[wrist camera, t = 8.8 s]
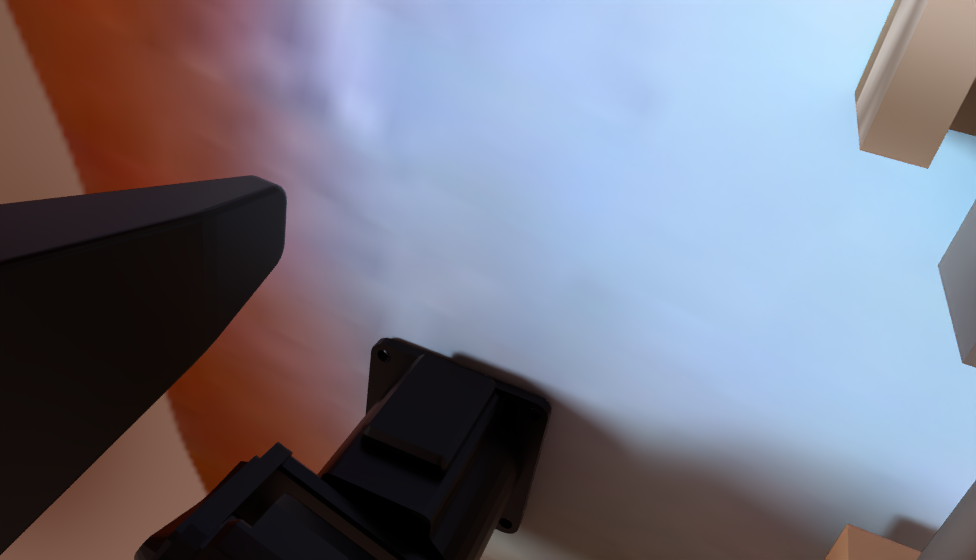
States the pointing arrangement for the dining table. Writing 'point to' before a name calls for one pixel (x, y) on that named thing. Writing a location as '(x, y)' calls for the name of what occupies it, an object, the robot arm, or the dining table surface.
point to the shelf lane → (919, 80)
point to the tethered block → (972, 305)
